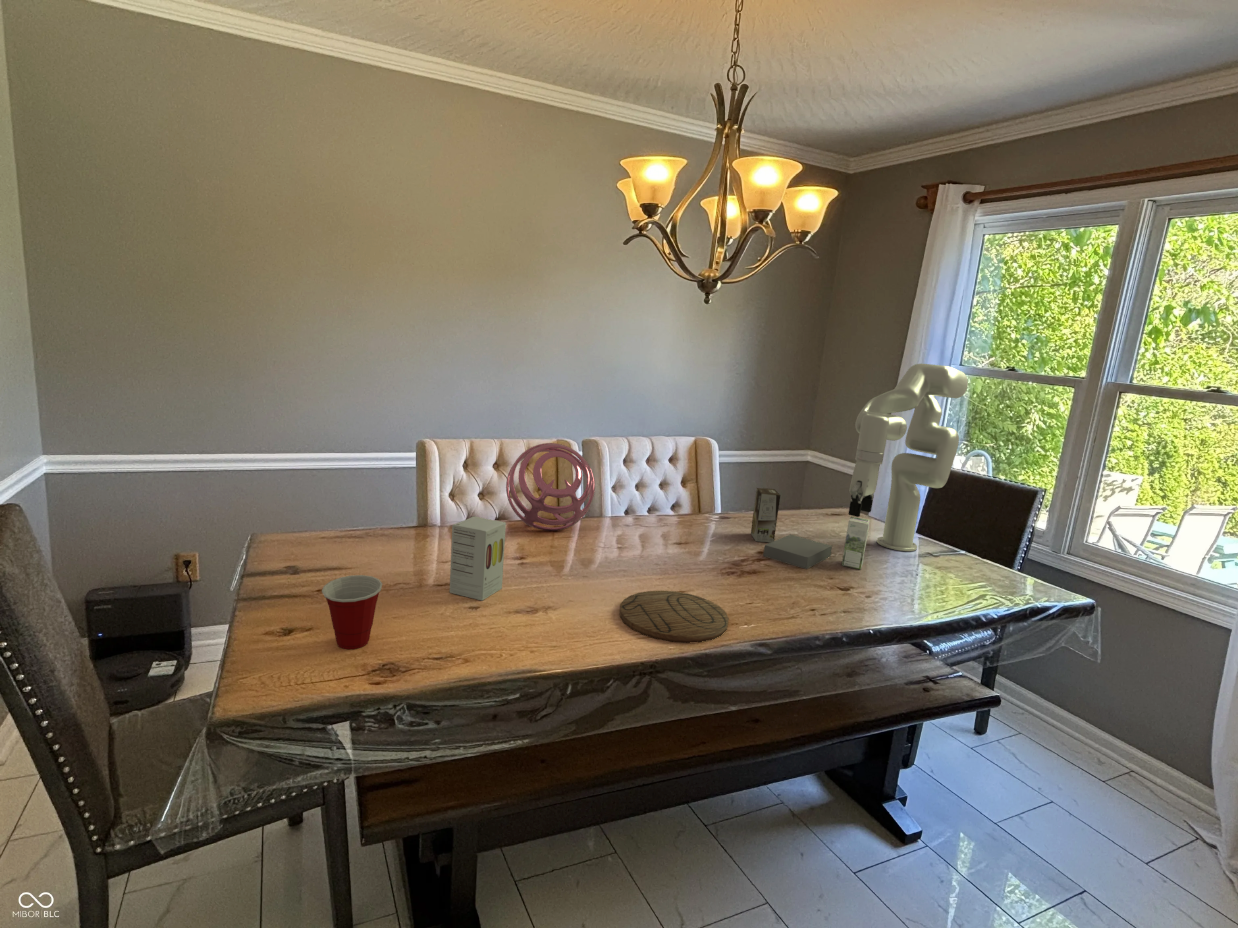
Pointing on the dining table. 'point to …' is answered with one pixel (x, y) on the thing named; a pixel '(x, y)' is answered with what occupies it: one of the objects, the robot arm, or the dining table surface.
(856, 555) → the syrup box
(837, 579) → the dining table surface
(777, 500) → the coffee box
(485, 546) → the supplement box
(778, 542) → the plate
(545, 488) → the pink openwork sphere
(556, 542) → the dining table surface
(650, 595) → the trivet
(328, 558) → the dining table surface
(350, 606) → the plastic cup
